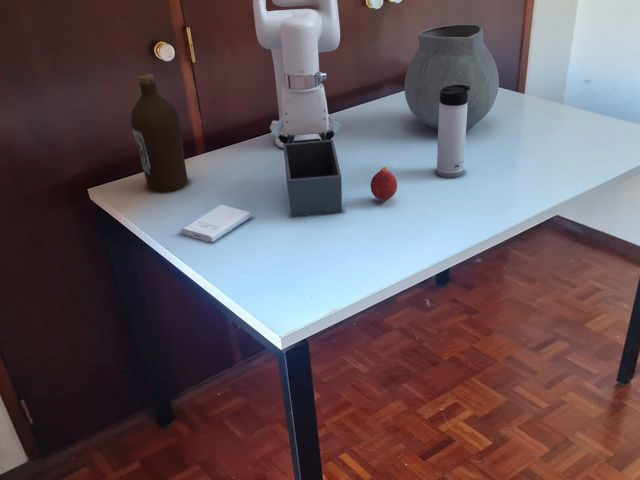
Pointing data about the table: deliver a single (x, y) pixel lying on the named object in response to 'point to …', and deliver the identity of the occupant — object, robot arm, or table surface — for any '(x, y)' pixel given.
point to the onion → (383, 185)
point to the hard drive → (216, 223)
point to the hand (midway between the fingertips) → (308, 160)
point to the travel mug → (452, 130)
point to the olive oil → (158, 139)
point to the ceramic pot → (451, 72)
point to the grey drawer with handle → (313, 177)
